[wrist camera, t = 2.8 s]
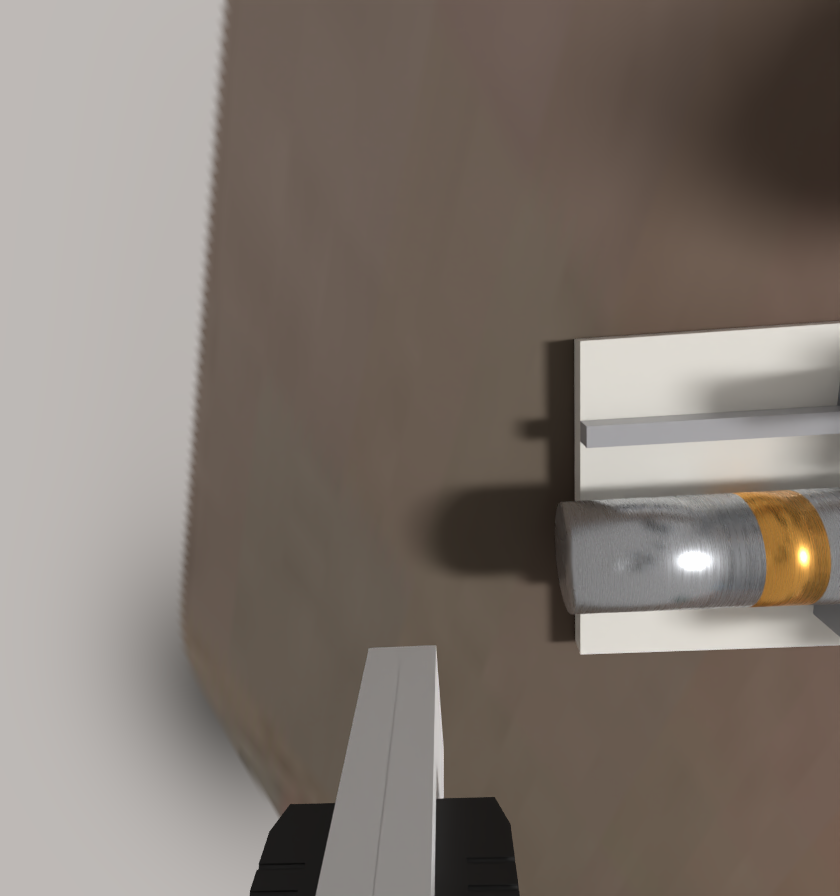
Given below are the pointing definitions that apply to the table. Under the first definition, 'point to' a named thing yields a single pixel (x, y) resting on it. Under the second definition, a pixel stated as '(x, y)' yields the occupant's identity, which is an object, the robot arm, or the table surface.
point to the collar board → (708, 455)
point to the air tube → (699, 551)
